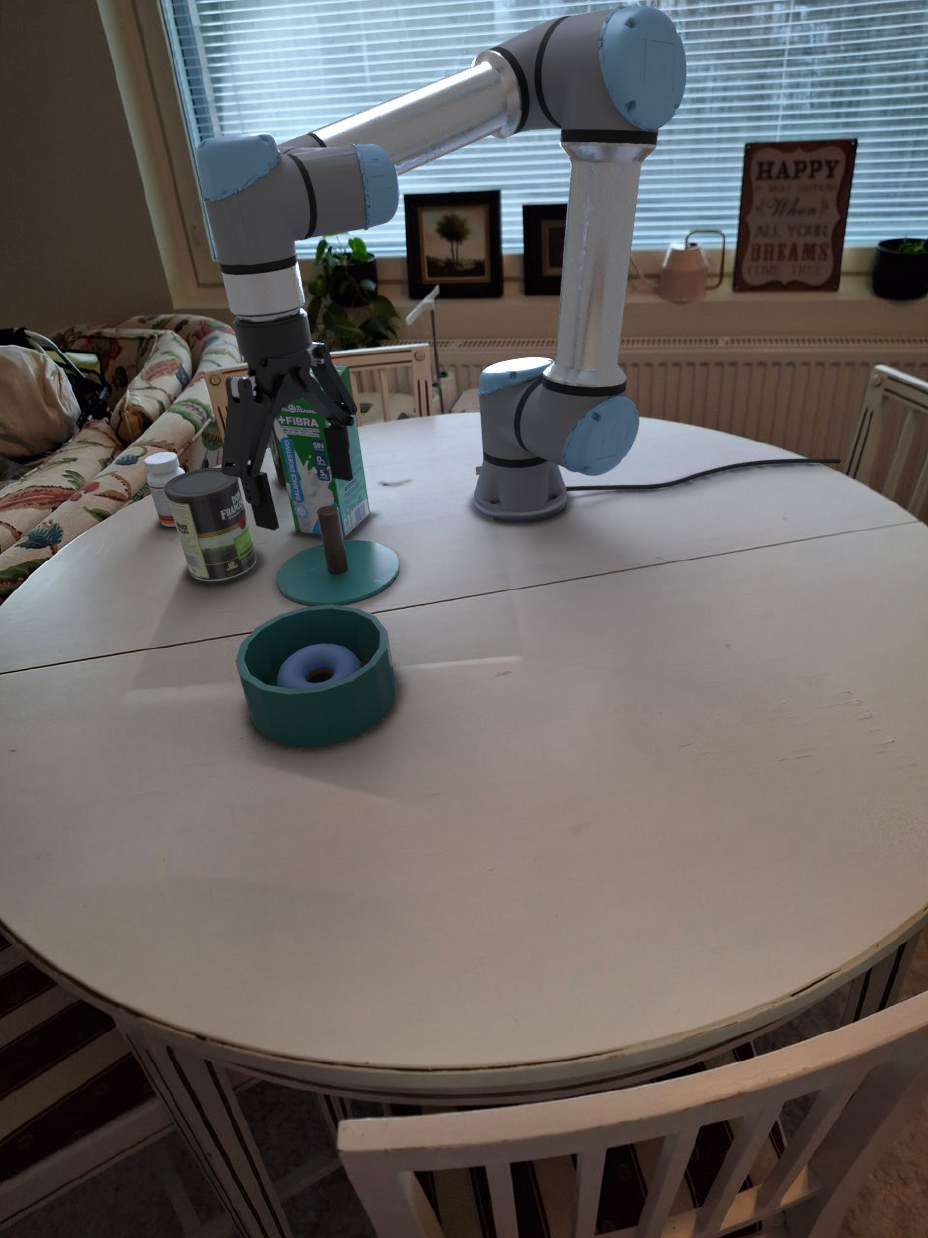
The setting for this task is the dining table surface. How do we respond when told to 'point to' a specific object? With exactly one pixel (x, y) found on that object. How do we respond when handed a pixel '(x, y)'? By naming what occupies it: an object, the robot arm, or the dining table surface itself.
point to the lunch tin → (327, 707)
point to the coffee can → (211, 524)
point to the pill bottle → (162, 482)
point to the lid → (337, 567)
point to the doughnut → (317, 666)
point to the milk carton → (319, 466)
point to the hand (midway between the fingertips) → (307, 501)
